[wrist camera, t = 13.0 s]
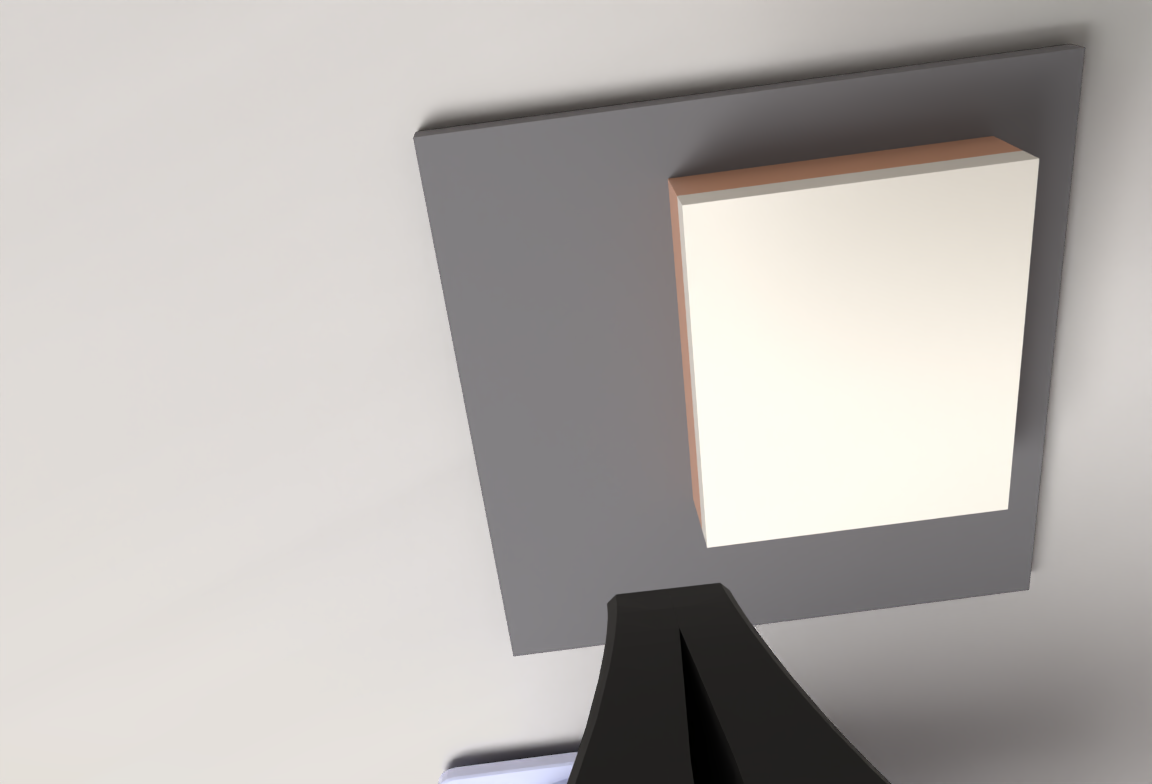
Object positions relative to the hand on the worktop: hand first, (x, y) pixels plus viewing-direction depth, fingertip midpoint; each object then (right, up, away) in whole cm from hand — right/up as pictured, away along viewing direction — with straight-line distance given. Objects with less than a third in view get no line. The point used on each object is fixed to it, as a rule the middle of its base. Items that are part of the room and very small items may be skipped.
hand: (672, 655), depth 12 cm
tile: (+1, +3, +7) cm, 8 cm away
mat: (+3, +3, +9) cm, 10 cm away
